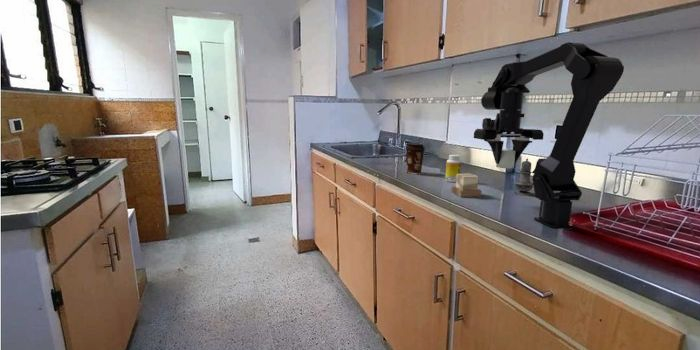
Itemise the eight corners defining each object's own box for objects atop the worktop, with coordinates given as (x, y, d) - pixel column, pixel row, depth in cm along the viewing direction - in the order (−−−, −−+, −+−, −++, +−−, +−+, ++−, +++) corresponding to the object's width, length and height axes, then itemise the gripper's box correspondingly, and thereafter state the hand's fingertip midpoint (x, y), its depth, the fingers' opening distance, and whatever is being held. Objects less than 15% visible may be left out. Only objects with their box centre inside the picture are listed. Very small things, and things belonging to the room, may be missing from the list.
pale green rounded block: (517, 168, 97) (519, 151, 96) (502, 168, 97) (503, 151, 96) (507, 165, 102) (509, 149, 101) (492, 165, 101) (494, 149, 101)
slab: (480, 198, 108) (481, 190, 108) (460, 198, 108) (461, 191, 107) (470, 193, 115) (470, 185, 115) (451, 193, 114) (451, 186, 114)
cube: (477, 190, 109) (478, 176, 108) (462, 190, 108) (463, 176, 107) (469, 186, 113) (470, 173, 113) (455, 187, 113) (456, 173, 112)
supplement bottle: (459, 182, 129) (461, 156, 127) (444, 181, 131) (446, 155, 129) (460, 180, 134) (462, 154, 132) (446, 179, 136) (448, 154, 134)
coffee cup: (400, 171, 151) (401, 143, 148) (415, 170, 154) (416, 142, 152) (411, 175, 143) (412, 144, 140) (427, 174, 146) (429, 144, 144)
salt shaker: (535, 196, 110) (539, 159, 107) (516, 195, 111) (520, 159, 109) (529, 192, 115) (533, 157, 113) (511, 191, 116) (515, 156, 114)
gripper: (522, 110, 105) (517, 159, 108) (466, 109, 103) (462, 159, 106) (547, 110, 95) (541, 164, 98) (486, 109, 92) (481, 165, 95)
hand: (505, 163), depth 99 cm, fingers closed on pale green rounded block, 5 cm apart
